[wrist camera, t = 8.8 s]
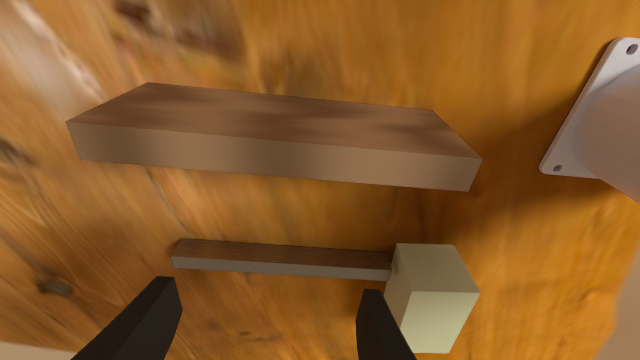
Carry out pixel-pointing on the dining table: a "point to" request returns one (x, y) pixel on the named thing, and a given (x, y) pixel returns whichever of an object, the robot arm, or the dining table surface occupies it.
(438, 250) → the cabinet block
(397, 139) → the wall board
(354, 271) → the strip
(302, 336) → the dining table surface
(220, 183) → the dining table surface
